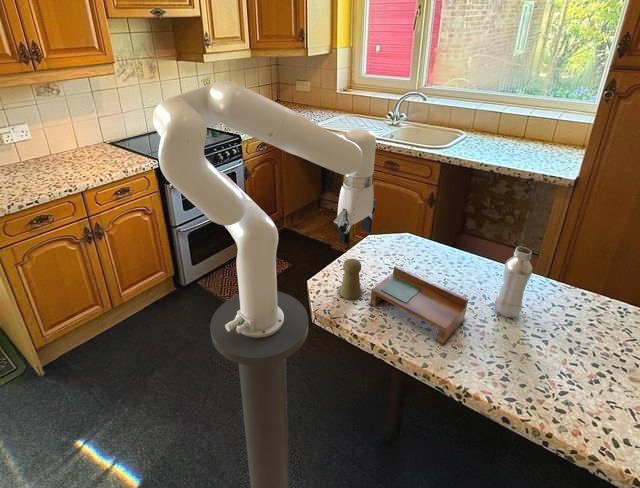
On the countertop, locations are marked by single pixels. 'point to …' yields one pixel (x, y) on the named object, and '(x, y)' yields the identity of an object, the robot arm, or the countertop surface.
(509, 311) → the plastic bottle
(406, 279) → the wooden shelf
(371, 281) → the countertop surface
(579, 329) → the countertop surface
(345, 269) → the cork
